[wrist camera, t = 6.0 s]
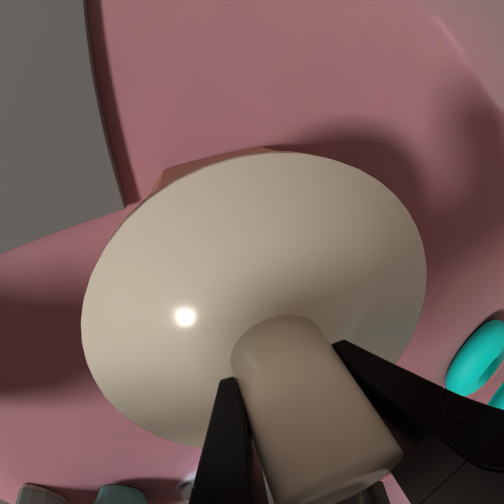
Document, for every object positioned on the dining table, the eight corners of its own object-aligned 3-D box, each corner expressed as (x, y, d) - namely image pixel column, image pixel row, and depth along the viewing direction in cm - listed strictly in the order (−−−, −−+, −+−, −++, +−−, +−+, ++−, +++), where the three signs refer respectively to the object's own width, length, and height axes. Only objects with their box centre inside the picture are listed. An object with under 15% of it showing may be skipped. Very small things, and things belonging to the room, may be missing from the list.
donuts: (480, 453, 19) (508, 417, 14) (436, 398, 28) (445, 350, 23) (534, 397, 19) (564, 346, 15) (489, 352, 28) (503, 298, 24)
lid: (167, 453, 11) (183, 557, 6) (25, 220, 6) (-105, 358, 1) (394, 378, 12) (454, 456, 8) (415, 129, 7) (575, 170, 3)
